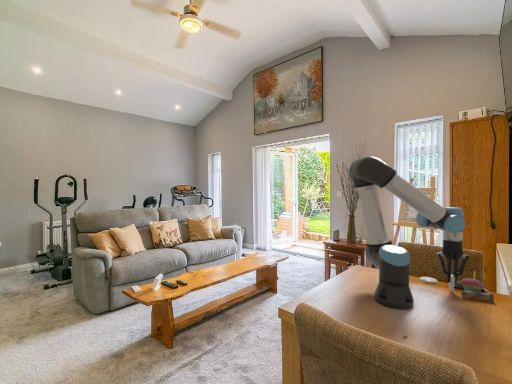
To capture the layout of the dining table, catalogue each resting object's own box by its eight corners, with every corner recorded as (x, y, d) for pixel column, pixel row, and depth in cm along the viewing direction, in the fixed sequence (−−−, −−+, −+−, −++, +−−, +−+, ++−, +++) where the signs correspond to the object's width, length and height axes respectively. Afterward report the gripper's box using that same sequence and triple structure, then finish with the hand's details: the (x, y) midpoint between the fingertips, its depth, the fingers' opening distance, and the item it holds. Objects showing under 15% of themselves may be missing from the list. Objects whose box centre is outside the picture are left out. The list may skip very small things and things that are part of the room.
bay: (462, 298, 117) (462, 291, 117) (450, 286, 131) (450, 280, 131) (493, 301, 114) (493, 294, 113) (477, 289, 127) (477, 283, 127)
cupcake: (488, 297, 118) (489, 271, 117) (469, 297, 118) (469, 271, 118) (473, 290, 126) (473, 265, 126) (455, 290, 126) (455, 265, 126)
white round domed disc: (421, 282, 136) (421, 280, 136) (417, 277, 144) (417, 276, 144) (439, 284, 134) (439, 282, 134) (434, 279, 141) (434, 277, 141)
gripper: (439, 240, 123) (438, 289, 123) (473, 242, 118) (471, 293, 119) (434, 237, 130) (433, 284, 130) (465, 239, 125) (464, 287, 126)
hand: (451, 288), depth 124 cm, fingers closed
